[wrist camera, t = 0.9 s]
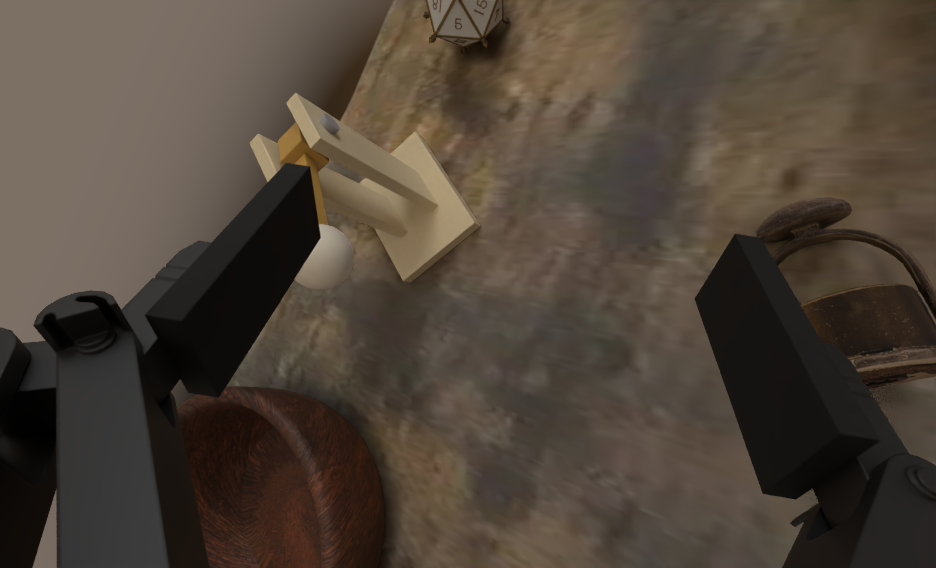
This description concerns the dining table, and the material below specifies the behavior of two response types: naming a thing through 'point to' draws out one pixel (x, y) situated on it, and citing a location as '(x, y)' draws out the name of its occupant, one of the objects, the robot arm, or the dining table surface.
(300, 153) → the lever
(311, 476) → the wooden bowl
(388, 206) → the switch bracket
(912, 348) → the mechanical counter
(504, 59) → the dining table surface
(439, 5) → the game die
